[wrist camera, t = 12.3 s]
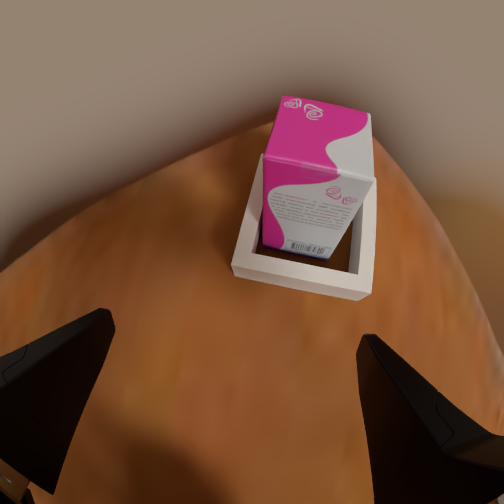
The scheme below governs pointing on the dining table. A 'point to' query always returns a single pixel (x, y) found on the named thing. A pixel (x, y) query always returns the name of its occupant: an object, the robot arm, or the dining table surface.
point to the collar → (305, 275)
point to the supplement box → (314, 175)
